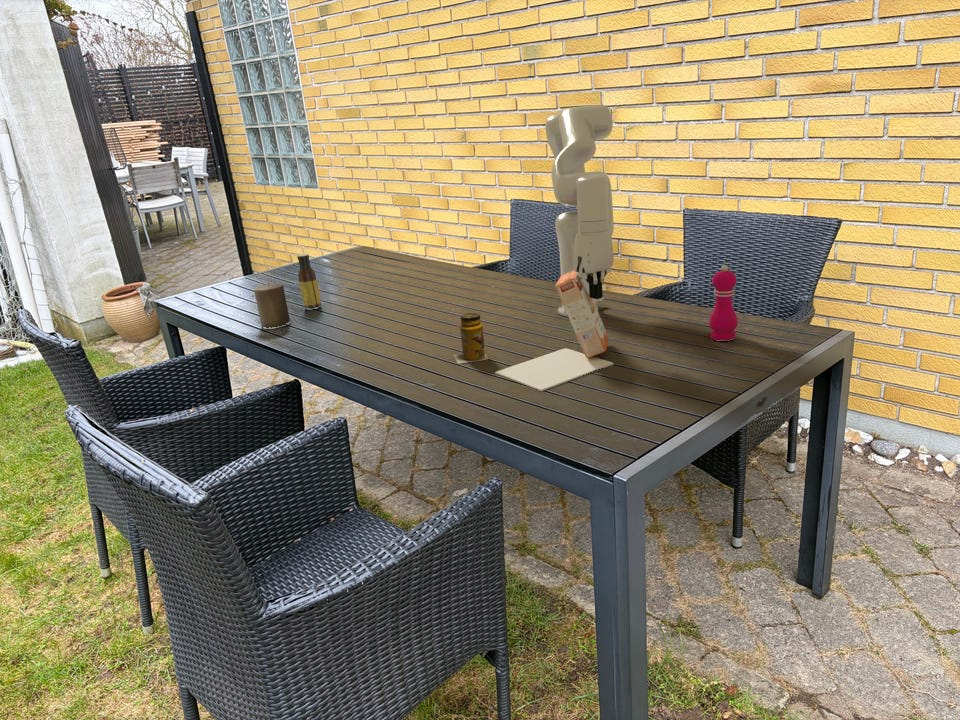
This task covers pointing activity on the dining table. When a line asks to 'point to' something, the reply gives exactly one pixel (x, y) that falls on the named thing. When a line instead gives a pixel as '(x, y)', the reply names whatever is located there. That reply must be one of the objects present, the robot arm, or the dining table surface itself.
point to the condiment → (471, 339)
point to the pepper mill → (723, 306)
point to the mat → (553, 369)
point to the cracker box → (582, 314)
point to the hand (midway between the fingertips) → (596, 297)
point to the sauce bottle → (308, 283)
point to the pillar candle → (272, 305)
